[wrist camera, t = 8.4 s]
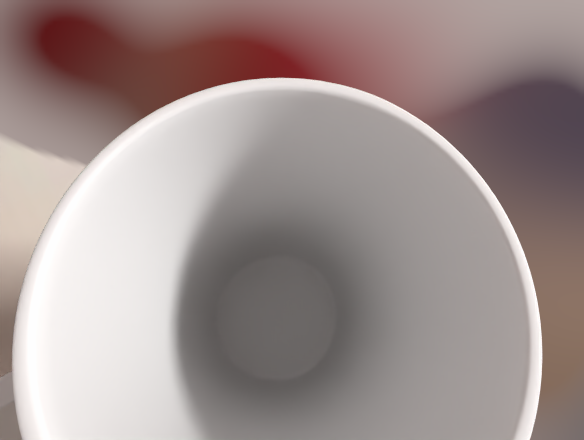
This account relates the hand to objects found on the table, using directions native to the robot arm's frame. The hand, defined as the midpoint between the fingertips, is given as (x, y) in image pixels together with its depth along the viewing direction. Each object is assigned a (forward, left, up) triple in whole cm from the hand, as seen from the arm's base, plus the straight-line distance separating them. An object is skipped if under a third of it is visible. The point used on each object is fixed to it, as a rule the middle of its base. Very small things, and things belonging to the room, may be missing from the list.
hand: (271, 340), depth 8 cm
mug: (0, -1, -7) cm, 7 cm away
